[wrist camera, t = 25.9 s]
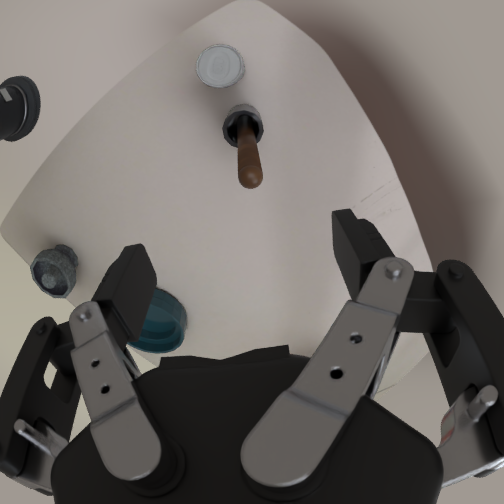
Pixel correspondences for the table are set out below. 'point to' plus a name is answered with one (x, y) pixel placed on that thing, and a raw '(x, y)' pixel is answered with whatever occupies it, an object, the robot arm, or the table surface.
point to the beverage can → (220, 66)
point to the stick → (248, 154)
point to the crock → (231, 123)
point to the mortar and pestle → (55, 271)
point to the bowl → (162, 325)
